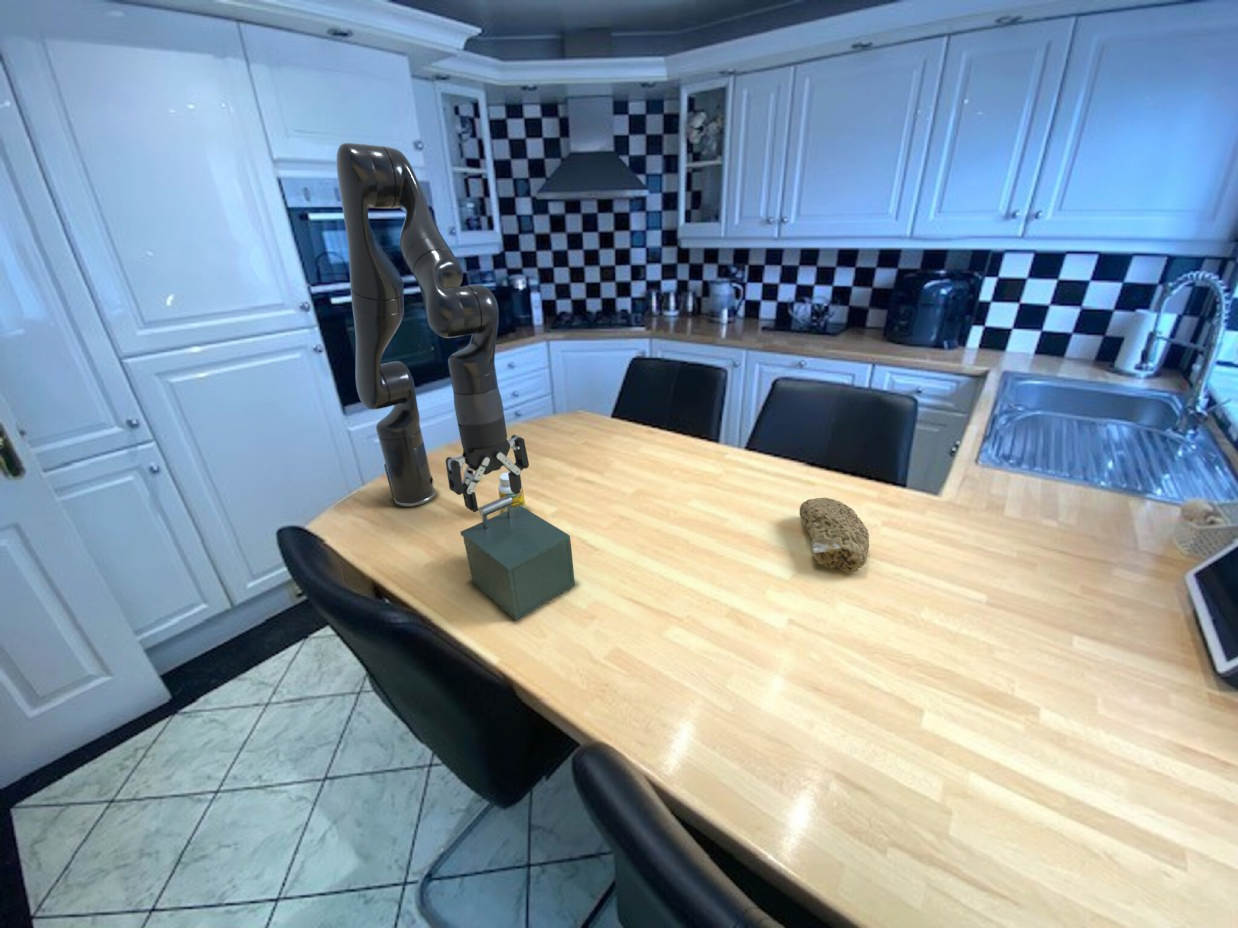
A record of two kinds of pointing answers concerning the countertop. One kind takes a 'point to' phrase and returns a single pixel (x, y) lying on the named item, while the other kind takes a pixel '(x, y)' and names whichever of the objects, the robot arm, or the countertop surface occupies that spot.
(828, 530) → the sponge
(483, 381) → the robot arm
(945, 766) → the countertop surface
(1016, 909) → the countertop surface
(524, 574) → the bin
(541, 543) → the bin lid
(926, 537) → the countertop surface
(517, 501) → the supplement bottle
